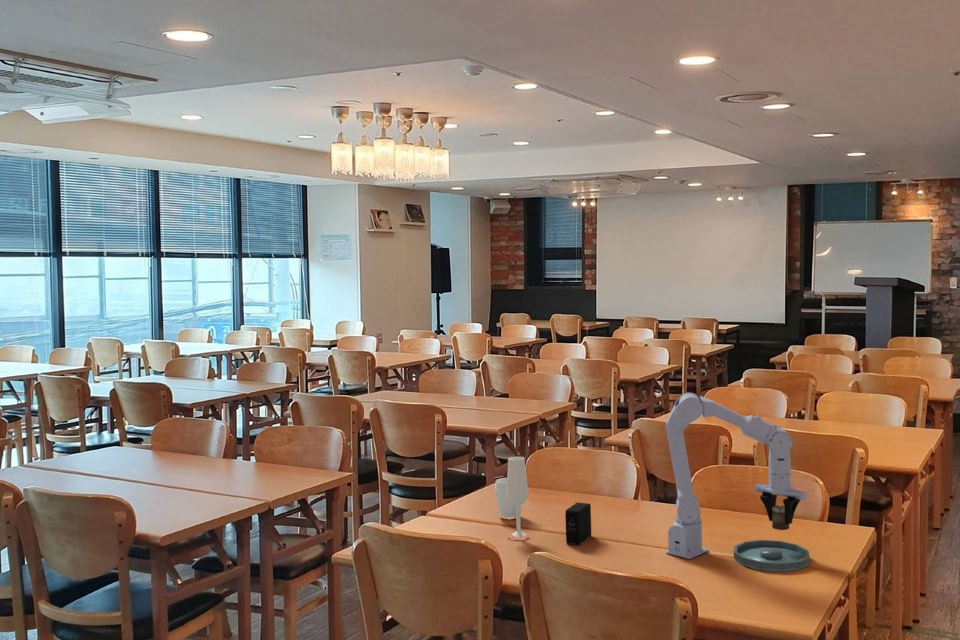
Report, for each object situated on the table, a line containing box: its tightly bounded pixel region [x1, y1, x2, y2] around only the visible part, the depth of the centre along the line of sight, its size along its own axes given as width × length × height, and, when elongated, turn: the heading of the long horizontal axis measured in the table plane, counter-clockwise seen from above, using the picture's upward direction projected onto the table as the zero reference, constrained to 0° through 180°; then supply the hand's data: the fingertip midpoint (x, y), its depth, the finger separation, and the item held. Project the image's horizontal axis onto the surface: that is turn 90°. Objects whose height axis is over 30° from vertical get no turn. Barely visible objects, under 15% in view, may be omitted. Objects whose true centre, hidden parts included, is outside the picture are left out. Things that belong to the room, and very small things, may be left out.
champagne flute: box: [506, 456, 530, 537], centre depth 269 cm, size 7×7×24 cm
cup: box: [494, 477, 523, 517], centre depth 291 cm, size 9×9×12 cm
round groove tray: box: [733, 539, 810, 573], centre depth 243 cm, size 19×19×2 cm
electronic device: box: [564, 502, 592, 546], centre depth 265 cm, size 4×10×10 cm, turn 152°
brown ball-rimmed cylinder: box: [771, 504, 790, 531], centre depth 247 cm, size 4×4×6 cm
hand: (780, 521), depth 247 cm, fingers closed on brown ball-rimmed cylinder, 4 cm apart
